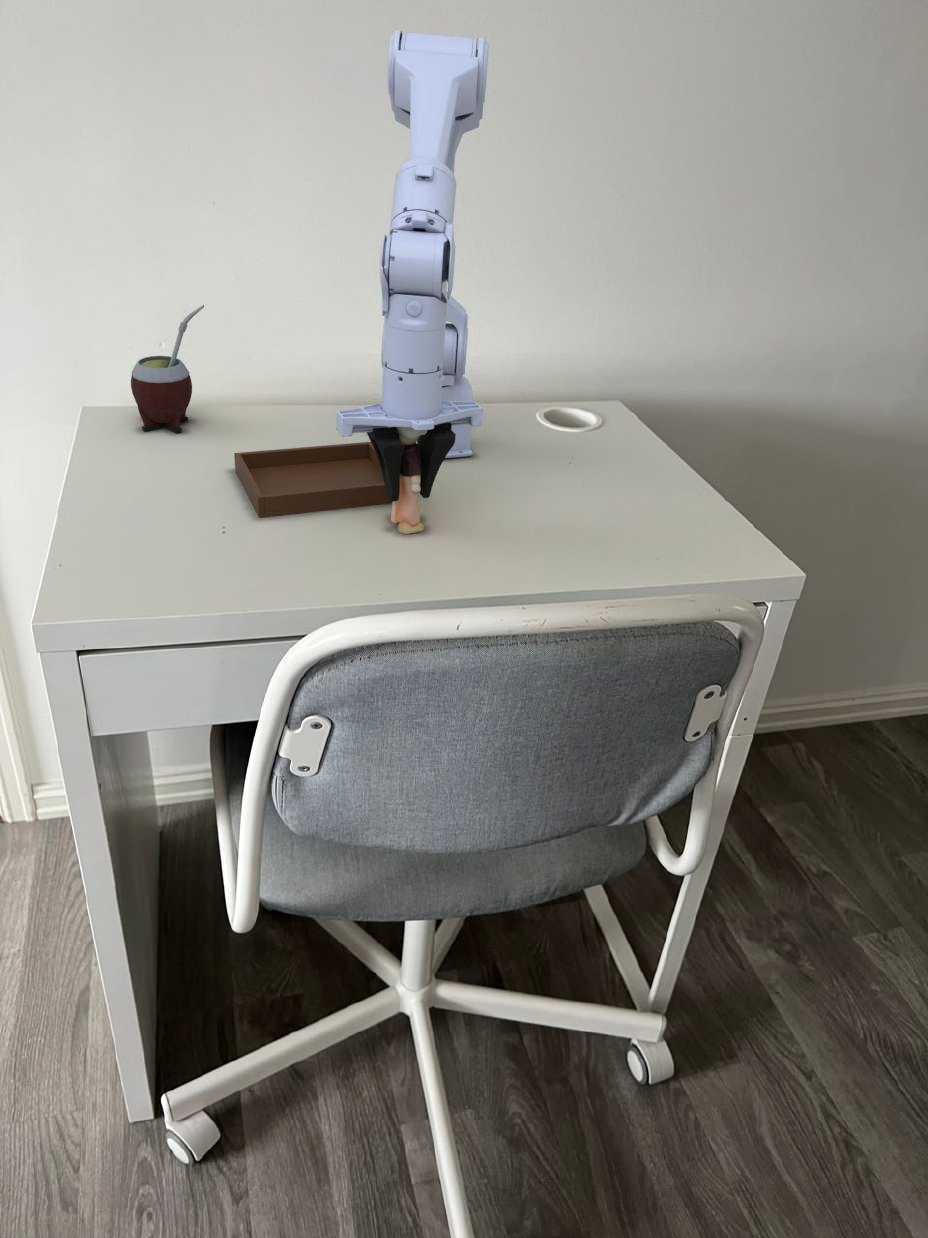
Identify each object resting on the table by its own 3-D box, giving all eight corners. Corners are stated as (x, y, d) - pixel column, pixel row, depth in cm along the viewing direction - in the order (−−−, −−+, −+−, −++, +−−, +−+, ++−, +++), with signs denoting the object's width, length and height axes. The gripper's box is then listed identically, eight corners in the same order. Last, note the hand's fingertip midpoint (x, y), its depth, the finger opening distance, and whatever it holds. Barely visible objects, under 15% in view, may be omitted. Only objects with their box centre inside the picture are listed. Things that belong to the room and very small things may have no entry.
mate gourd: (124, 423, 120) (110, 299, 112) (179, 410, 125) (169, 291, 117) (158, 441, 116) (146, 314, 108) (214, 427, 121) (206, 304, 113)
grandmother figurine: (380, 513, 104) (377, 398, 97) (414, 507, 105) (413, 394, 98) (402, 545, 98) (401, 426, 91) (438, 539, 99) (439, 421, 92)
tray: (371, 459, 116) (371, 441, 115) (405, 501, 107) (406, 482, 106) (235, 471, 110) (234, 452, 109) (258, 517, 101) (258, 497, 100)
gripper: (352, 382, 87) (350, 519, 94) (499, 373, 92) (487, 504, 99) (330, 358, 92) (330, 490, 99) (470, 351, 97) (461, 477, 104)
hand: (407, 495), depth 99 cm, fingers closed on grandmother figurine, 3 cm apart
